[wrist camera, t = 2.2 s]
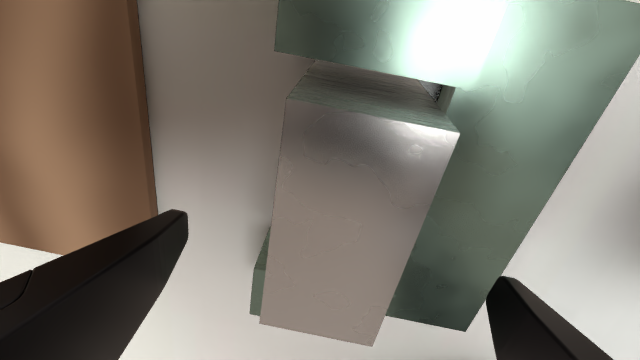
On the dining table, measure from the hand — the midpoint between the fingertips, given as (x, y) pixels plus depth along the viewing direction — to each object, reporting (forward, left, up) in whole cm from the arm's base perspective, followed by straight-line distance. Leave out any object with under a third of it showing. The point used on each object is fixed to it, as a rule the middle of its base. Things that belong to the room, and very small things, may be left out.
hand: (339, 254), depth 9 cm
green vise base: (-2, -2, -6) cm, 7 cm away
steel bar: (0, 0, -6) cm, 6 cm away
